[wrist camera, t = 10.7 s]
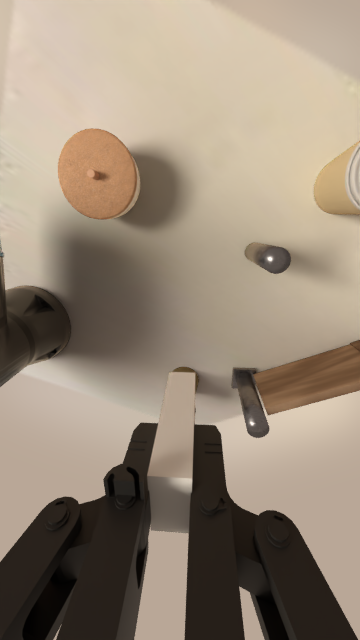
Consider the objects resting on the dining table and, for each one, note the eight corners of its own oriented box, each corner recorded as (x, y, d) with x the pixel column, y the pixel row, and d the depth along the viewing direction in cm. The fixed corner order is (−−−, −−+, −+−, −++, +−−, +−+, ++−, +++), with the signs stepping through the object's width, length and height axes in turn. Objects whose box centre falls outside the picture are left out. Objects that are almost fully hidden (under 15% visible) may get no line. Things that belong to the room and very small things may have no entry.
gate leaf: (252, 373, 49) (266, 411, 38) (361, 339, 45) (410, 371, 34) (255, 381, 49) (270, 421, 39) (364, 348, 45) (412, 383, 35)
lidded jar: (72, 162, 40) (35, 142, 31) (133, 136, 38) (112, 107, 29) (99, 230, 43) (72, 229, 34) (156, 208, 41) (144, 202, 32)
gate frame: (231, 386, 51) (242, 439, 38) (241, 242, 42) (259, 247, 29) (253, 387, 51) (271, 441, 38) (268, 242, 42) (298, 247, 28)
